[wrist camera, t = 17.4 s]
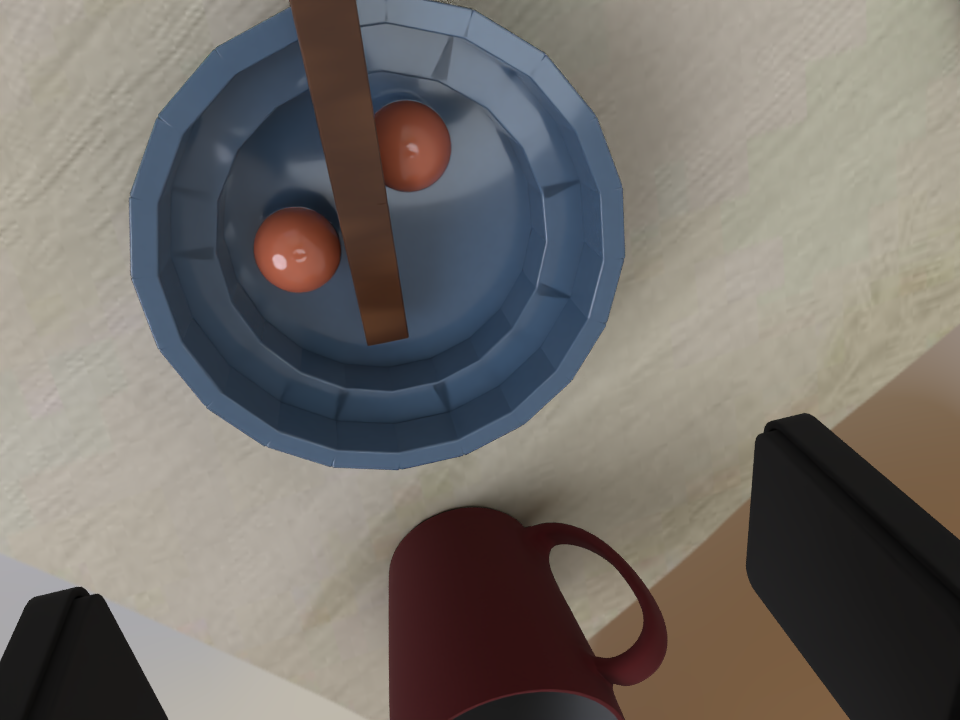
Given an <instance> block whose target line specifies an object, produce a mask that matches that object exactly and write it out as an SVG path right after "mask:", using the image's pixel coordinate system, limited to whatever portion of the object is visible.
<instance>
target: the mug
mask: <svg viewBox="0 0 960 720" xmlns="http://www.w3.org/2000/svg"><path fill="white" fill-rule="evenodd" d="M560 544H568V545H575V546H579V547H582V548H585V549H588V550H590V551H592V552H594V553H596V554H598V555H600V556H601V557H603V558H604V559H605V560H607V561H608V562H609V563H611V564H612V565H613V566H614V567H615V568H616V569H617V570H618V571H619V573H620V574H621V575H622V576H623V578H624V579H625V580H626V582H627V583H628V584H629V586H630V587H631V589H632V590H633V592H634V594H635V596H636V597H637V599H638V601H639V603H640V606H641V608H642V612H643V619H644V622H643V629H642V632H641V634H640V636H639V638H638V640H637V641H636V642H635V644H634V645H633V646H632V647H631V648H630V649H628V650H627V651H626V652H624V653H622V654H620V655H618V656H616V657H612V658H601V657H596V656H595V655H594V653H593V651H592V649H591V647H590V645H589V644H588V642H587V640H586V638H585V636H584V634H583V632H582V630H581V628H580V627H579V625H578V623H577V621H576V619H575V617H574V615H573V613H572V611H571V609H570V608H569V606H568V604H567V602H566V600H565V598H564V596H563V595H562V593H561V591H560V589H559V587H558V585H557V583H556V581H555V579H554V576H553V574H552V571H551V568H550V563H549V554H550V551H551V549H552V548H553V547H554V546H556V545H560ZM666 649H667V631H666V626H665V622H664V619H663V616H662V613H661V611H660V609H659V607H658V605H657V603H656V601H655V600H654V598H653V596H652V595H651V593H650V591H649V590H648V588H647V587H646V585H645V584H644V583H643V581H642V580H641V579H640V577H639V576H638V575H637V574H636V572H635V571H634V570H633V569H632V568H631V567H630V565H629V564H628V563H627V562H626V561H625V560H624V559H623V558H622V557H621V556H620V555H619V554H618V553H617V552H616V551H615V550H613V549H612V548H611V547H610V546H609V545H608V544H606V543H605V542H604V541H602V540H601V539H599V538H598V537H596V536H594V535H593V534H591V533H589V532H587V531H585V530H583V529H581V528H578V527H575V526H572V525H568V524H563V523H542V524H538V525H534V526H530V527H524V526H523V525H522V524H521V523H520V522H519V521H517V520H516V519H514V518H513V517H511V516H509V515H508V514H506V513H503V512H500V511H497V510H493V509H488V508H480V507H468V508H459V509H454V510H450V511H447V512H443V513H441V514H438V515H436V516H433V517H431V518H429V519H428V520H426V521H424V522H422V523H421V524H419V525H418V526H417V527H415V528H414V529H413V530H412V531H411V532H410V533H409V534H408V535H407V536H406V537H405V538H404V539H403V540H402V541H401V543H400V544H399V546H398V547H397V549H396V551H395V553H394V555H393V557H392V560H391V564H390V570H389V707H390V720H625V719H624V717H623V714H622V712H621V709H620V707H619V705H618V703H617V700H616V698H615V695H614V692H613V684H617V685H621V686H630V685H634V684H637V683H640V682H642V681H643V680H645V679H647V678H648V677H650V676H651V675H652V674H653V673H654V672H655V671H656V670H657V669H658V668H659V666H660V665H661V663H662V661H663V659H664V657H665V654H666Z"/></svg>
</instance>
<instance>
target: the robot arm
mask: <svg viewBox="0 0 960 720" xmlns="http://www.w3.org/2000/svg"><path fill="white" fill-rule="evenodd" d="M746 570H747V575H748V578H749V581H750V583H751V585H752V587H753V589H754V590H755V592H756V593H757V595H758V596H759V597H760V599H761V600H762V601H763V603H764V604H765V605H766V607H767V608H768V609H769V611H770V612H771V614H772V615H773V616H774V618H775V619H776V620H777V622H778V623H779V624H780V626H781V627H782V628H783V630H784V631H785V632H786V634H787V635H788V636H789V638H790V639H791V641H792V642H793V643H794V645H795V646H796V647H797V648H798V650H799V651H800V653H801V654H802V655H803V657H804V658H805V659H806V661H807V662H808V663H809V665H810V666H811V668H812V669H813V670H814V672H815V673H816V674H817V676H818V677H819V678H820V680H821V681H822V682H823V684H824V685H825V686H826V688H827V689H828V690H829V692H830V693H831V694H832V696H833V697H834V699H835V700H836V701H837V703H838V704H839V705H840V707H841V708H842V709H843V711H844V712H845V713H846V715H847V716H848V717H849V719H850V720H960V540H959V539H958V538H957V537H956V536H954V535H953V534H952V533H951V532H950V531H949V530H947V529H946V528H945V527H944V526H943V525H941V524H940V523H939V522H938V521H937V520H935V519H934V518H933V517H932V516H931V515H930V514H928V513H927V512H926V511H925V510H924V509H922V508H921V507H920V506H919V505H918V504H917V503H915V502H914V501H913V500H912V499H911V498H910V497H908V496H907V495H906V494H905V493H904V492H902V491H901V490H900V489H899V488H898V487H897V486H895V485H894V484H893V483H892V482H891V481H890V480H888V479H887V478H886V477H885V476H884V475H882V474H881V473H880V472H879V471H878V470H877V469H875V468H874V467H873V466H872V465H871V464H869V463H868V462H867V461H866V460H865V459H864V458H862V457H861V456H860V455H859V454H858V453H856V452H855V451H854V450H853V449H852V448H851V447H849V446H848V445H847V444H846V443H845V442H843V441H842V440H841V439H840V438H839V437H838V436H836V435H835V434H834V433H833V432H832V431H831V430H829V429H828V428H827V427H826V426H825V425H823V424H822V423H821V422H820V421H819V420H818V419H816V418H815V417H814V416H812V415H810V414H807V413H803V414H799V415H794V416H790V417H786V418H782V419H778V420H773V421H770V422H768V423H767V424H766V426H765V428H764V433H762V434H759V435H758V436H757V437H756V441H755V450H754V464H753V477H752V491H751V504H750V518H749V531H748V545H747V559H746ZM0 720H168V718H167V716H166V714H165V712H164V710H163V708H162V706H161V705H160V703H159V701H158V699H157V697H156V695H155V693H154V691H153V689H152V688H151V686H150V684H149V682H148V680H147V678H146V676H145V675H144V673H143V671H142V669H141V667H140V665H139V663H138V661H137V660H136V658H135V656H134V654H133V652H132V650H131V648H130V646H129V644H128V643H127V641H126V639H125V637H124V635H123V633H122V631H121V630H120V628H119V626H118V624H117V622H116V620H115V618H114V616H113V614H112V613H111V611H110V609H109V607H108V605H107V603H106V601H105V600H104V598H103V597H102V596H101V595H100V594H93V595H90V594H89V593H88V592H87V590H86V589H84V588H83V587H74V588H70V589H66V590H62V591H58V592H53V593H50V594H45V595H41V596H37V597H34V598H32V599H31V600H29V601H28V603H27V605H26V606H25V608H24V610H23V613H22V615H21V617H20V619H19V621H18V623H17V626H16V628H15V630H14V632H13V634H12V637H11V639H10V641H9V643H8V645H7V648H6V650H5V652H4V654H3V656H2V658H1V661H0Z"/></svg>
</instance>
